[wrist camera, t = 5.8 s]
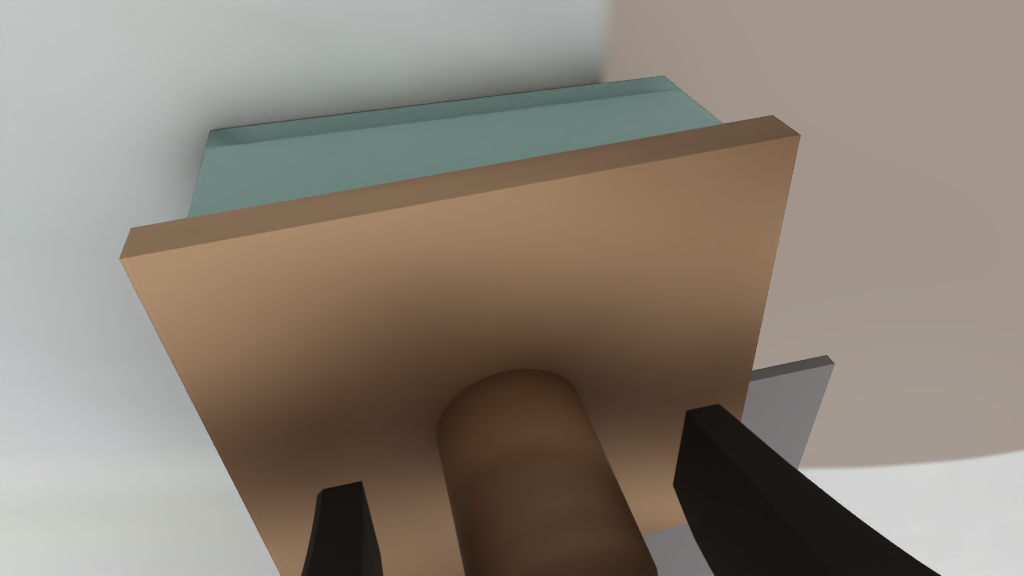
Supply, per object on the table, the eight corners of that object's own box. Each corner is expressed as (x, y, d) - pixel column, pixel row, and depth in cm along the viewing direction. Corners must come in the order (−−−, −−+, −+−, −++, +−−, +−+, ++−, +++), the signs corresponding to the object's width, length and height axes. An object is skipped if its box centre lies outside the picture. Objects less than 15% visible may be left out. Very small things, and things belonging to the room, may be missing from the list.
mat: (754, 568, 28) (759, 577, 28) (470, 644, 26) (472, 654, 26) (826, 355, 21) (834, 363, 21) (443, 435, 19) (445, 446, 19)
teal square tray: (630, 384, 20) (684, 481, 17) (310, 450, 18) (312, 569, 15) (663, 75, 14) (750, 146, 11) (209, 131, 13) (185, 227, 10)
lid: (706, 487, 17) (807, 662, 14) (306, 593, 16) (309, 818, 12) (772, 115, 11) (981, 262, 8) (131, 228, 10) (39, 475, 6)
